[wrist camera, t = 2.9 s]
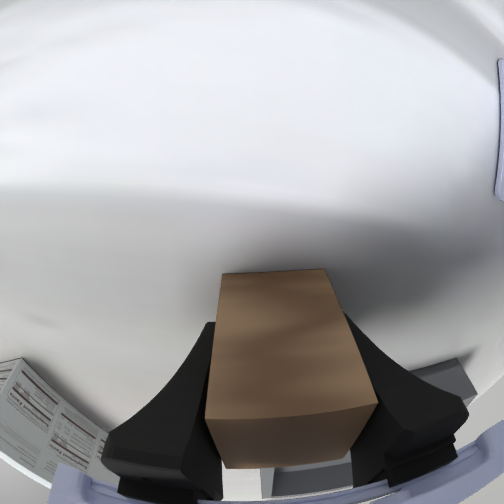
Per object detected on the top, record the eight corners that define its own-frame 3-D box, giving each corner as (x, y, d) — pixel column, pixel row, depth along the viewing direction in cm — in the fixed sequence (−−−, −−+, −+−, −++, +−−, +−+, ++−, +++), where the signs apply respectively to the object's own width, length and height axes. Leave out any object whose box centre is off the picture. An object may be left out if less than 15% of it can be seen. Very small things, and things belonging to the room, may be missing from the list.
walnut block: (323, 269, 12) (378, 402, 6) (315, 340, 14) (343, 458, 8) (222, 273, 12) (204, 418, 6) (231, 345, 14) (225, 468, 8)
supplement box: (-15, 365, 18) (-46, 419, 10) (22, 354, 16) (-21, 435, 8) (74, 444, 26) (59, 495, 17) (138, 450, 23) (125, 518, 15)
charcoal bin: (456, 358, 16) (477, 393, 13) (389, 449, 25) (396, 474, 21) (256, 393, 16) (258, 446, 13) (260, 469, 25) (261, 498, 21)
